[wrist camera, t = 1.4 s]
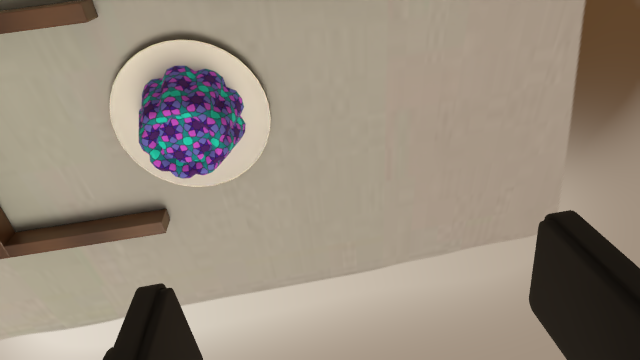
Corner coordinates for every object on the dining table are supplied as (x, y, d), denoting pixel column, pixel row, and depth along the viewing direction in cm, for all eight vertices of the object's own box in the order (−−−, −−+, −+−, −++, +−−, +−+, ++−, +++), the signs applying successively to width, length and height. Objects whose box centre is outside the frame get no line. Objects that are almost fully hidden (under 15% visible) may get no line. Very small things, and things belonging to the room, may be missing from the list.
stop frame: (8, 245, 37) (-5, 260, 35) (-127, 27, 28) (-152, 33, 26) (170, 219, 38) (165, 233, 36) (91, -2, 28) (80, 2, 27)
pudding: (249, 22, 30) (246, 36, 26) (284, 166, 36) (287, 198, 32) (84, 55, 30) (53, 76, 26) (147, 194, 36) (130, 231, 32)
